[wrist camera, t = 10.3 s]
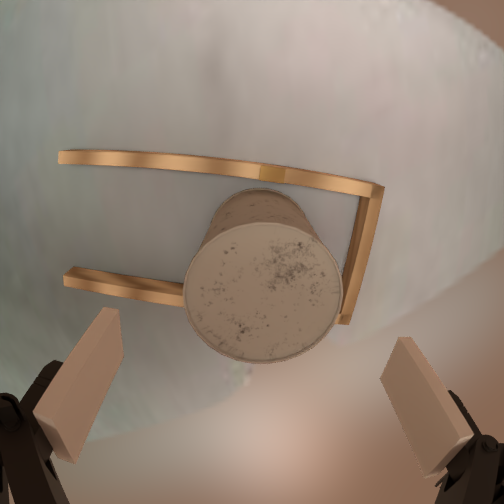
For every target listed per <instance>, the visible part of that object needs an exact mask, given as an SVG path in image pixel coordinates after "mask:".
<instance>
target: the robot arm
mask: <svg viewBox="0 0 504 504" xmlns="http://www.w3.org/2000/svg"><path fill="white" fill-rule="evenodd" d="M123 357H124V354H123V345H122V337H121V327H120V317H119V310H118V309H113V308H107V307H103V308H102V310H101V311H100V313H99V314H98V315H97V317H96V318H95V319H94V321H93V322H92V323H91V325H90V326H89V328H88V329H87V330H86V332H85V333H84V335H83V336H82V337H81V339H80V340H79V342H78V343H77V344H76V346H75V347H74V349H73V350H72V352H71V353H70V355H69V356H68V358H67V359H66V360H65V362H64V363H63V362H59V361H56V360H53V361H52V362H50V363H49V364H47V365H46V366H44V368H43V369H42V371H41V372H40V373H39V375H38V377H37V378H36V379H35V381H34V383H33V384H32V385H31V386H30V388H29V389H28V391H27V392H26V394H25V395H24V397H23V398H22V400H21V401H20V403H19V401H18V399H17V398H16V397H15V396H14V395H12V394H9V393H0V504H9V492H8V483H9V486H10V490H11V493H12V496H13V499H14V502H15V504H70V503H69V501H68V499H67V497H66V495H65V492H64V490H63V488H62V485H61V483H60V481H59V478H58V476H57V473H56V471H55V468H54V466H53V463H52V461H51V459H50V455H51V453H52V451H54V452H55V454H56V456H57V457H58V458H60V459H62V460H65V461H67V462H70V463H73V464H76V462H77V459H78V457H79V454H80V452H81V450H82V447H83V445H84V443H85V440H86V438H87V436H88V433H89V431H90V429H91V426H92V424H93V422H94V420H95V417H96V415H97V413H98V411H99V408H100V406H101V404H102V402H103V400H104V397H105V395H106V393H107V391H108V389H109V387H110V385H111V382H112V380H113V378H114V376H115V374H116V372H117V370H118V368H119V366H120V364H121V362H122V359H123ZM380 380H381V382H382V384H383V386H384V388H385V390H386V393H387V394H388V397H389V399H390V401H391V403H392V405H393V408H394V409H395V412H396V414H397V416H398V419H399V421H400V423H401V425H402V427H403V430H404V432H405V434H406V437H407V439H408V441H409V444H410V446H411V448H412V451H413V453H414V455H415V458H416V460H417V462H418V465H419V467H420V470H421V472H422V475H423V477H424V478H428V477H432V476H435V475H438V474H439V473H440V472H441V471H442V470H443V469H444V468H445V467H446V468H447V470H448V472H447V474H445V475H444V476H443V477H442V478H441V479H440V480H439V481H438V482H437V483H436V485H435V487H437V486H438V485H439V484H440V483H441V482H442V485H441V487H440V490H439V493H438V496H437V499H436V501H435V504H504V443H498V441H497V440H496V439H495V438H494V437H492V436H490V435H482V434H481V432H480V431H479V429H478V427H477V426H476V424H475V422H474V421H473V419H472V418H471V416H470V414H469V413H467V410H466V408H465V407H463V403H462V402H461V400H460V399H459V397H458V396H457V395H455V394H454V393H453V392H452V391H451V390H449V391H447V389H446V388H445V386H444V385H443V383H442V382H441V380H440V379H439V377H438V376H437V374H436V373H435V371H434V370H433V368H432V367H431V365H430V364H429V363H428V361H427V359H426V358H425V356H424V355H423V354H422V352H421V351H420V349H419V348H418V346H417V345H416V343H415V342H414V341H413V339H412V338H411V337H398V340H397V342H396V345H395V347H394V349H393V351H392V353H391V356H390V358H389V360H388V362H387V365H386V367H385V369H384V372H383V373H382V375H381V377H380Z"/></svg>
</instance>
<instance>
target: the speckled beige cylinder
mask: <svg viewBox="0 0 504 504" xmlns="http://www.w3.org/2000/svg"><path fill="white" fill-rule="evenodd" d="M342 299H343V284H342V277H341V274H340V271H339V268H338V265H337V263H336V261H335V259H334V258H333V257H332V255H331V254H330V252H329V251H328V249H327V248H326V247H325V246H324V245H323V243H322V242H321V240H320V239H319V237H318V236H317V234H316V233H315V231H314V229H313V228H312V226H311V225H310V223H309V222H308V220H307V219H306V217H305V214H304V212H303V211H302V210H301V208H300V207H299V206H298V204H297V203H296V202H294V201H293V200H292V199H291V198H290V197H289V196H287V195H285V194H283V193H281V192H279V191H276V190H272V189H268V188H253V189H248V190H243V191H241V192H239V193H237V194H234V195H232V196H231V197H230V198H228V199H227V200H226V201H225V202H223V204H222V205H221V206H220V207H219V208H218V210H217V211H216V213H215V215H214V217H213V219H212V221H211V225H210V228H209V230H208V232H207V234H206V236H205V238H204V240H203V242H202V244H201V246H200V248H199V250H198V253H197V254H196V255H195V256H194V258H193V259H192V261H191V264H190V266H189V268H188V270H187V272H186V274H185V280H184V285H183V302H184V308H185V311H186V314H187V317H188V320H189V322H190V324H191V326H192V327H193V329H194V330H195V332H196V333H197V335H198V336H199V337H200V338H201V339H202V340H203V341H204V342H205V343H206V344H207V345H208V346H210V347H211V348H213V349H214V350H216V351H217V352H219V353H220V354H222V355H224V356H227V357H229V358H232V359H234V360H237V361H242V362H247V363H255V364H270V363H276V362H282V361H285V360H288V359H291V358H294V357H297V356H300V355H301V354H303V353H305V352H306V351H308V350H310V349H312V348H313V347H314V346H316V345H317V344H318V343H319V342H320V341H321V340H322V339H323V338H324V337H325V336H326V335H327V334H328V332H329V331H330V330H331V328H332V327H333V325H334V324H335V322H336V319H337V317H338V315H339V312H340V310H341V305H342Z"/></svg>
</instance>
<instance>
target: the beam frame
mask: <svg viewBox="0 0 504 504" xmlns="http://www.w3.org/2000/svg"><path fill="white" fill-rule="evenodd" d="M58 164H89V165H112V166H130V167H145V168H158V169H170V170H182V171H192V172H202V173H212V174H221V175H229V176H238V177H246V178H253V179H259V180H262V181H269V182H276V183H283V184H284V183H289V184H295V185H302V186H308V187H314V188H320V189H326V190H331V191H337V192H343V193H348V194H353V195H359V196H360V201H359V206H358V210H357V215H356V220H355V225H354V229H353V234H352V238H351V242H350V247H349V251H348V255H347V259H346V263H345V267H344V271H343V275H342V284H343V299H342V305H341V310H340V312H339V315H338V317H337V319H336V322H335V324H344V325H349V323H350V320H351V317H352V313H353V310H354V307H355V304H356V300H357V297H358V294H359V290H360V287H361V283H362V280H363V276H364V273H365V269H366V265H367V262H368V258H369V254H370V250H371V246H372V242H373V238H374V234H375V230H376V225H377V221H378V217H379V212H380V208H381V203H382V198H383V193H384V188H385V187H383V186H381V185H378V184H376V183H372V182H368V181H363V180H358V179H353V178H348V177H343V176H338V175H332V174H327V173H321V172H316V171H310V170H304V169H298V168H292V167H285V166H279V165H272V164H265V163H257V162H250V161H242V160H233V159H225V158H216V157H206V156H195V155H184V154H172V153H158V152H141V151H119V150H65V151H59V159H58ZM63 280H64V286H68V287H73V288H77V289H82V290H87V291H92V292H98V293H103V294H108V295H114V296H119V297H125V298H130V299H136V300H142V301H148V302H154V303H160V304H167V305H173V306H180V307H184V302H183V285H184V284H180V283H173V282H166V281H160V280H153V279H146V278H140V277H133V276H127V275H121V274H115V273H109V272H103V271H97V270H91V269H85V268H79V267H73V268H71V269H70V270H69V271H68V272H67V273H65V274H64V275H63Z"/></svg>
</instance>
